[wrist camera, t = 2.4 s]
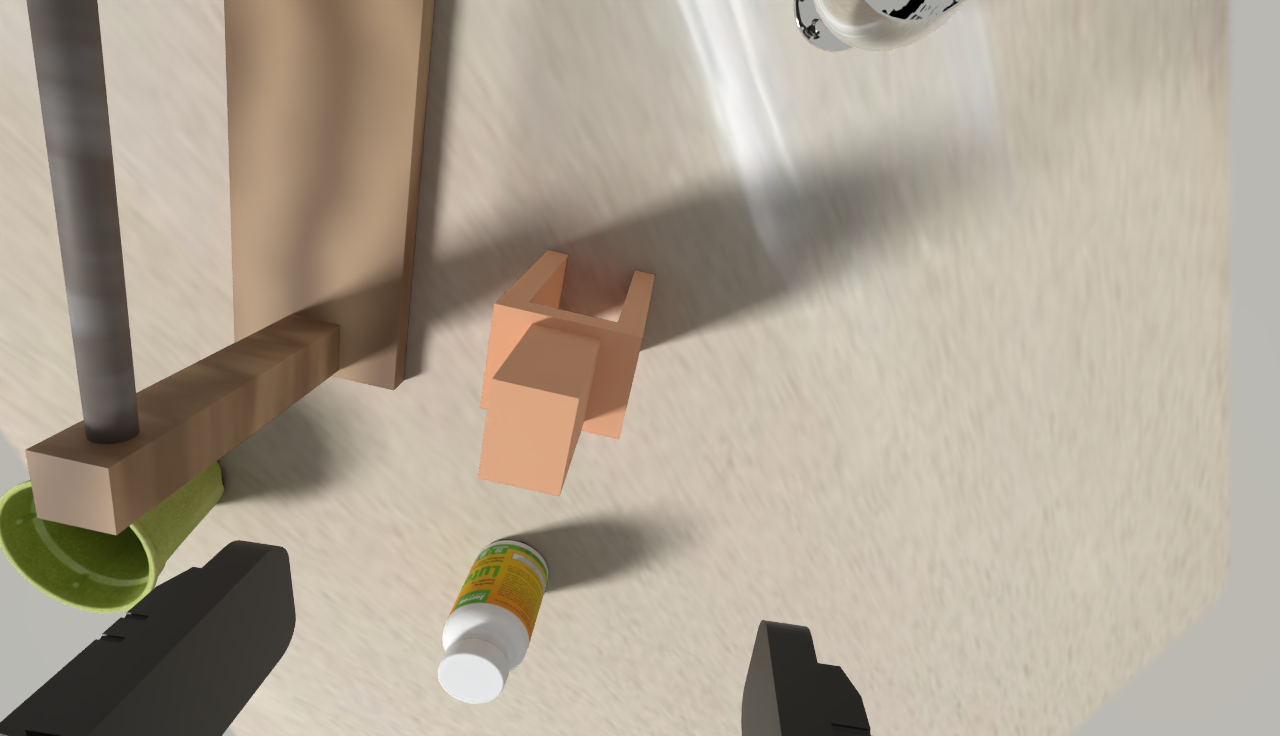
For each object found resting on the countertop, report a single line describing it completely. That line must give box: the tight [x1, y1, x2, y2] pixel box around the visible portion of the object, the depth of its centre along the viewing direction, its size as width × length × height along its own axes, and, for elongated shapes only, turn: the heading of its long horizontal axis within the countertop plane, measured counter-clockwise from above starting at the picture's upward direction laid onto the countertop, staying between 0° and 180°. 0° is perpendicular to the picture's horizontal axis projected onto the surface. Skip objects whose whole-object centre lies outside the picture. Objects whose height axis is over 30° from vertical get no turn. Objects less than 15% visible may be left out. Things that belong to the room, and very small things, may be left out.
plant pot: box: [0, 461, 224, 613], centre depth 41 cm, size 9×9×9 cm
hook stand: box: [25, 0, 435, 535], centre depth 27 cm, size 10×28×18 cm, turn 168°
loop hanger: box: [478, 250, 655, 496], centre depth 30 cm, size 6×5×17 cm
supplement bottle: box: [438, 540, 548, 703], centre depth 41 cm, size 5×5×10 cm
